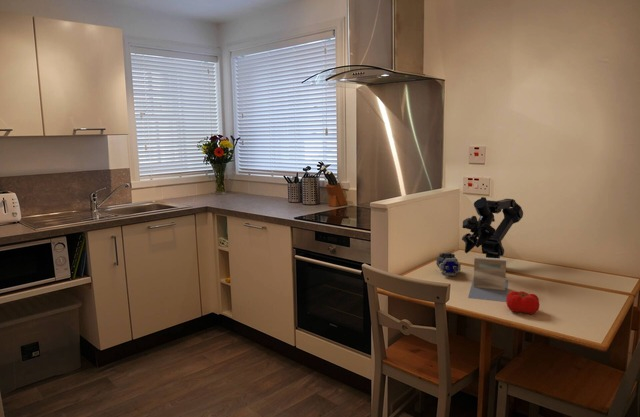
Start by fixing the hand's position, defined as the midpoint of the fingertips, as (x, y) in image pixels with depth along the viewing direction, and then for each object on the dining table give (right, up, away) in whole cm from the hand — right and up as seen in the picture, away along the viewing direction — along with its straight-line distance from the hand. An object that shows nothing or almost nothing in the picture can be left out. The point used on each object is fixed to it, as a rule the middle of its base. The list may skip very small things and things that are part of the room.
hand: (471, 249), depth 205 cm
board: (+3, -14, -14) cm, 20 cm away
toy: (-8, -12, +7) cm, 16 cm away
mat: (+2, -15, -15) cm, 21 cm away
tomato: (+6, -19, -39) cm, 43 cm away
